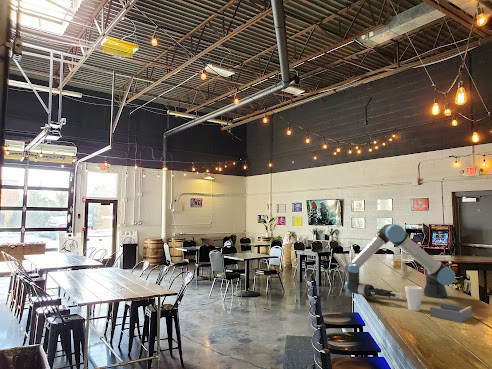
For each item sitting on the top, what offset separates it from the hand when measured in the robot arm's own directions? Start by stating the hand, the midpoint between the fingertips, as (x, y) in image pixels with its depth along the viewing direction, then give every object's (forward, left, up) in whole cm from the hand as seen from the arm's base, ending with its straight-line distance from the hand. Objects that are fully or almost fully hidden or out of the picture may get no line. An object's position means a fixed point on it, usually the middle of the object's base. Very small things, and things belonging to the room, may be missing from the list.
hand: (400, 296), depth 224 cm
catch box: (0, +29, -6) cm, 29 cm away
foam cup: (0, +8, -7) cm, 10 cm away
